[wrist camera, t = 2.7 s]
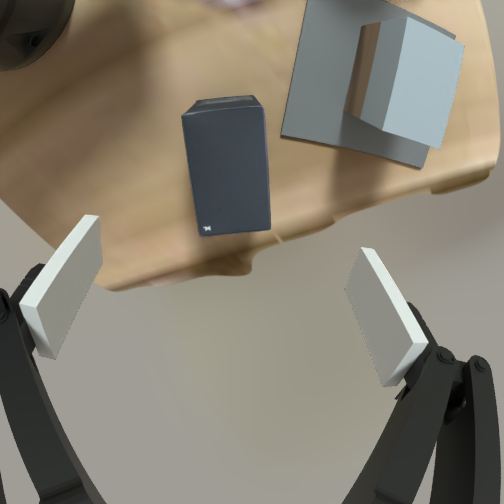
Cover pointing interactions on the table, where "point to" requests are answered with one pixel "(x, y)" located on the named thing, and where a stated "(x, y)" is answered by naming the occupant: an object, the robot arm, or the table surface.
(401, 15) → the mat
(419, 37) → the block top
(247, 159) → the small box
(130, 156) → the table surface
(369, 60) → the block bottom
